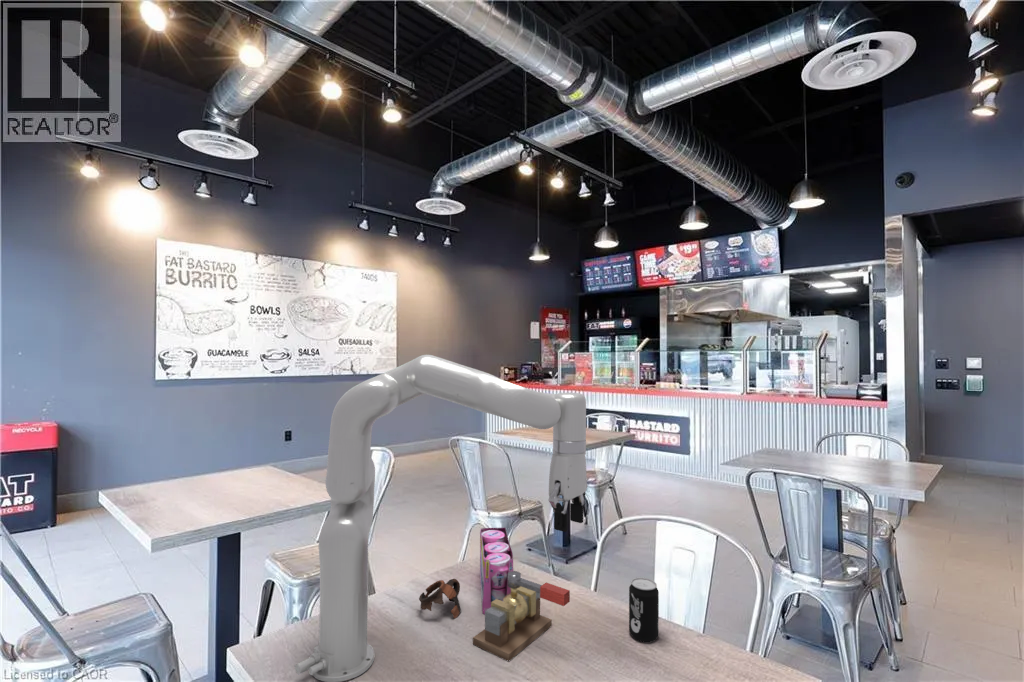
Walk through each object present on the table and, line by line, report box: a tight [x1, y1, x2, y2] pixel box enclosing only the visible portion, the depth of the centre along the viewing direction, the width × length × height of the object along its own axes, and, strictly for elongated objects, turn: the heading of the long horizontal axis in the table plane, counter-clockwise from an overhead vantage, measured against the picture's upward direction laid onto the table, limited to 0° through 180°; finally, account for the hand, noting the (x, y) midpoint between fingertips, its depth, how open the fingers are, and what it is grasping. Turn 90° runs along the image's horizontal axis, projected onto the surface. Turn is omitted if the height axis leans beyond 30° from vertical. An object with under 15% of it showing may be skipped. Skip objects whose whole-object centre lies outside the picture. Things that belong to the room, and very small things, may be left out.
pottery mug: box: [418, 578, 462, 619], centre depth 123 cm, size 12×10×8 cm
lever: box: [508, 570, 571, 607], centre depth 108 cm, size 16×3×3 cm, turn 53°
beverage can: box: [628, 577, 660, 644], centre depth 112 cm, size 7×7×12 cm
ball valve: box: [484, 586, 541, 636], centre depth 112 cm, size 16×6×8 cm, turn 143°
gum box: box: [479, 527, 514, 615], centre depth 131 cm, size 24×8×14 cm, turn 6°
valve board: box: [472, 598, 553, 662], centre depth 112 cm, size 17×10×6 cm, turn 143°
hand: (568, 525), depth 111 cm, fingers open, 6 cm apart
